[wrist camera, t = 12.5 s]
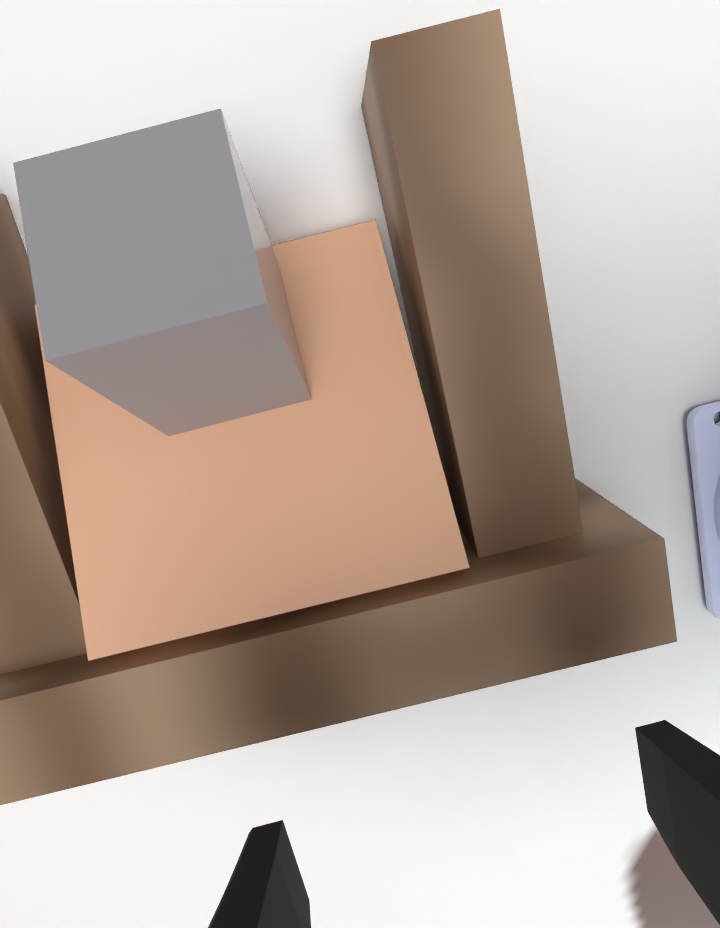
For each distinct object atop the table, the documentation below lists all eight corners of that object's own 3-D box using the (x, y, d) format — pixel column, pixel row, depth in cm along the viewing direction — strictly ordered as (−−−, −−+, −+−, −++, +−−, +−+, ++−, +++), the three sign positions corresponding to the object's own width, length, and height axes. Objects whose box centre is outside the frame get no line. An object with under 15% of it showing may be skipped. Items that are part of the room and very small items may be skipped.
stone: (279, 266, 17) (220, 108, 11) (311, 399, 17) (267, 303, 11) (142, 302, 17) (13, 163, 11) (168, 436, 17) (45, 360, 11)
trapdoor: (376, 242, 19) (375, 219, 17) (464, 568, 17) (469, 567, 16) (57, 321, 19) (34, 304, 18) (109, 654, 17) (88, 660, 16)
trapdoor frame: (508, 68, 18) (591, -45, 13) (585, 555, 22) (677, 641, 16) (-140, 231, 19) (-354, 194, 13) (50, 685, 22) (-47, 816, 17)
